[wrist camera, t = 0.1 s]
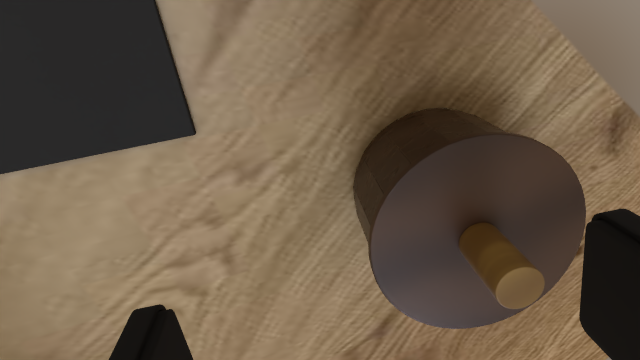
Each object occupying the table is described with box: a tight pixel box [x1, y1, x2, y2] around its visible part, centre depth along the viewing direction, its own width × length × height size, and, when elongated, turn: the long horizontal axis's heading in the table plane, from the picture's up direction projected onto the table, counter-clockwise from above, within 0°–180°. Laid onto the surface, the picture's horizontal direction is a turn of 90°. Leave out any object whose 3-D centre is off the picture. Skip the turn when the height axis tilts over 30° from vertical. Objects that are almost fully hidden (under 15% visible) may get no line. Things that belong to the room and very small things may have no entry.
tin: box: [354, 108, 505, 241], centre depth 30 cm, size 13×13×8 cm
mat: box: [0, 0, 196, 174], centre depth 27 cm, size 18×16×1 cm
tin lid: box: [368, 132, 586, 329], centre depth 24 cm, size 14×14×6 cm
